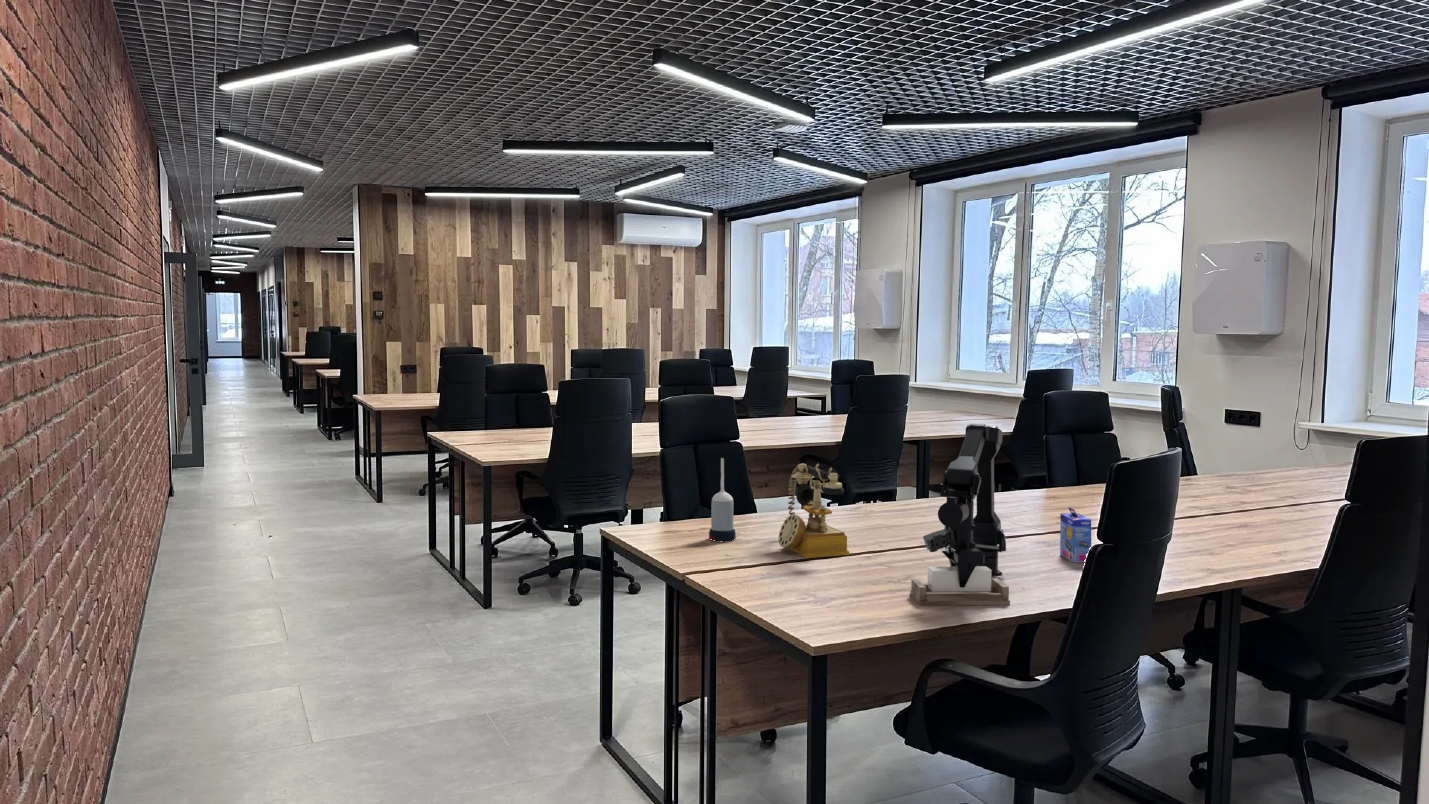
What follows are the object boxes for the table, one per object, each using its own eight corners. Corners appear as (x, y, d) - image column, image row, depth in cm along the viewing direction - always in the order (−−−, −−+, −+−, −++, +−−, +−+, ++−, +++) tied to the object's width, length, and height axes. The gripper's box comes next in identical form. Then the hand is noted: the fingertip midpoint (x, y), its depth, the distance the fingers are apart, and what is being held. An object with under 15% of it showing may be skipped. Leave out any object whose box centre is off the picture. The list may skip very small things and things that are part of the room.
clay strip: (927, 587, 231) (928, 566, 231) (985, 586, 232) (986, 566, 232) (932, 591, 227) (932, 570, 227) (991, 591, 228) (991, 570, 228)
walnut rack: (910, 594, 234) (910, 577, 234) (995, 593, 235) (996, 577, 235) (920, 605, 224) (920, 588, 224) (1010, 604, 225) (1010, 588, 225)
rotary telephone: (753, 538, 299) (754, 457, 297) (805, 534, 304) (806, 455, 303) (800, 564, 265) (801, 473, 263) (858, 559, 271) (859, 470, 269)
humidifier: (706, 541, 294) (706, 459, 292) (712, 536, 302) (712, 456, 300) (732, 542, 292) (732, 460, 290) (738, 537, 300) (738, 457, 298)
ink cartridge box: (1058, 554, 277) (1059, 504, 276) (1077, 554, 278) (1078, 504, 277) (1072, 563, 268) (1073, 511, 267) (1091, 562, 268) (1093, 511, 267)
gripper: (917, 512, 238) (915, 575, 239) (937, 528, 219) (936, 595, 220) (962, 512, 238) (960, 575, 239) (986, 527, 219) (984, 595, 221)
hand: (959, 584), depth 230 cm, fingers closed on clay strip, 4 cm apart
